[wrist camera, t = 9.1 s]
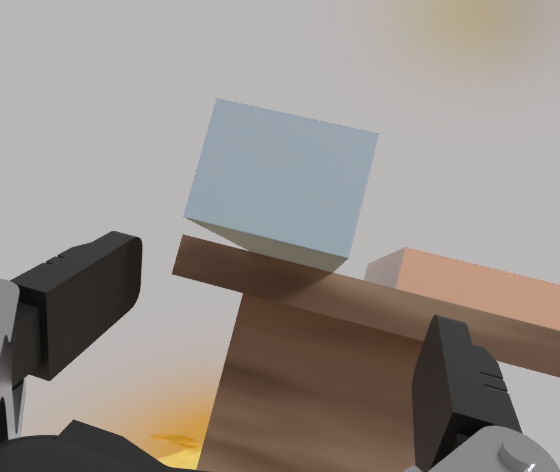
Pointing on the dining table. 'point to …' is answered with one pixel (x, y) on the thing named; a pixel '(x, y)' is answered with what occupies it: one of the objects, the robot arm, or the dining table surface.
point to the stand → (329, 364)
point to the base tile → (469, 286)
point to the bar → (281, 183)
